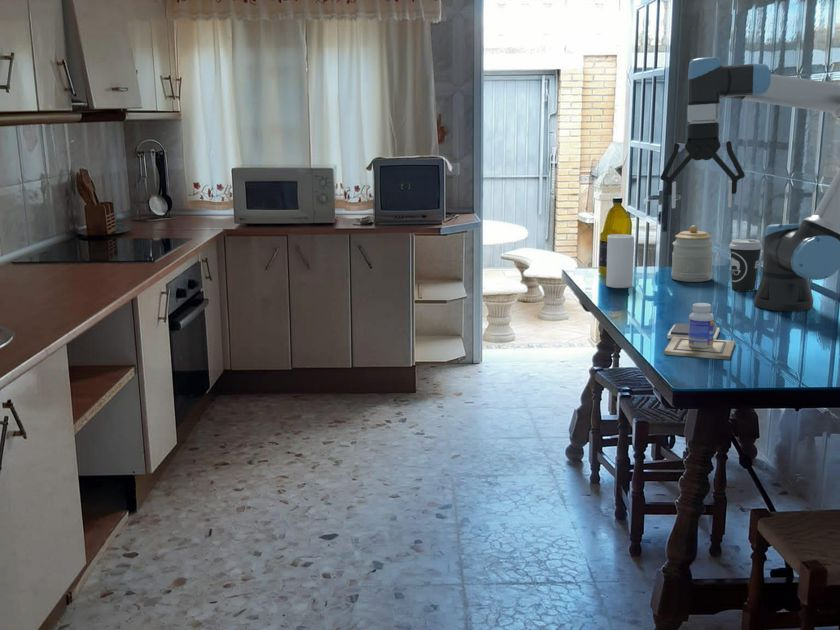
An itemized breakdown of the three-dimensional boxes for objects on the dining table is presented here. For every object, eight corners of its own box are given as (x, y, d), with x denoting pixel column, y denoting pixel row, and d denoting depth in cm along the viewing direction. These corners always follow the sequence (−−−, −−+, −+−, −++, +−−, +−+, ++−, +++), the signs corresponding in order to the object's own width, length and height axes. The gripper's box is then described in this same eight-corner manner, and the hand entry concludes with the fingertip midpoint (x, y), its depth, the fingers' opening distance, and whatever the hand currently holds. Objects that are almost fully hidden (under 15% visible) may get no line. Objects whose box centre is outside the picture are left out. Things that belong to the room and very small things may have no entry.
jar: (717, 281, 276) (720, 227, 272) (677, 282, 277) (679, 228, 273) (705, 274, 289) (707, 222, 285) (666, 275, 289) (668, 223, 285)
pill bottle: (714, 349, 194) (716, 307, 192) (689, 348, 195) (691, 306, 193) (711, 343, 200) (713, 302, 197) (686, 342, 201) (688, 301, 198)
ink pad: (719, 331, 213) (719, 325, 213) (714, 342, 203) (715, 335, 203) (673, 328, 217) (674, 322, 217) (667, 338, 208) (667, 332, 207)
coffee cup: (756, 293, 257) (759, 243, 254) (723, 290, 262) (725, 242, 259) (762, 287, 265) (765, 239, 262) (730, 285, 270) (733, 238, 267)
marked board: (734, 344, 201) (735, 340, 201) (729, 359, 189) (729, 355, 188) (673, 339, 207) (673, 335, 206) (664, 354, 194) (664, 350, 194)
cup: (636, 284, 276) (637, 234, 273) (627, 288, 269) (628, 238, 266) (611, 282, 280) (612, 233, 277) (602, 286, 274) (603, 236, 270)
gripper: (756, 119, 213) (753, 205, 218) (653, 124, 222) (652, 206, 227) (756, 120, 206) (753, 208, 211) (650, 125, 216) (649, 209, 220)
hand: (701, 207), depth 219 cm, fingers open, 13 cm apart
